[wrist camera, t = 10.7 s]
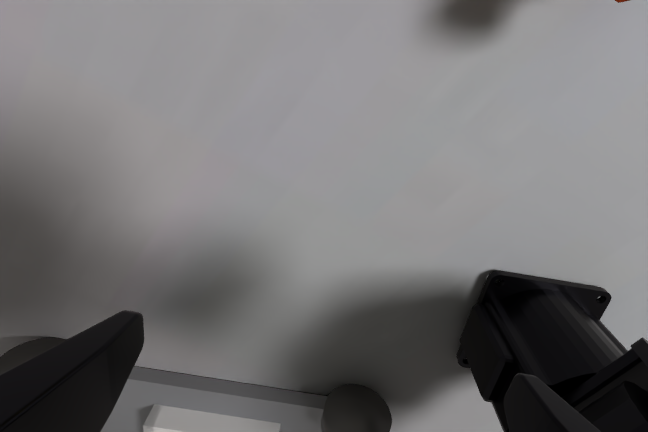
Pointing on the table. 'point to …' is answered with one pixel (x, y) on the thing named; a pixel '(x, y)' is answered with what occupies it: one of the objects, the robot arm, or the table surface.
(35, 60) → the table surface
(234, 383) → the chassis
